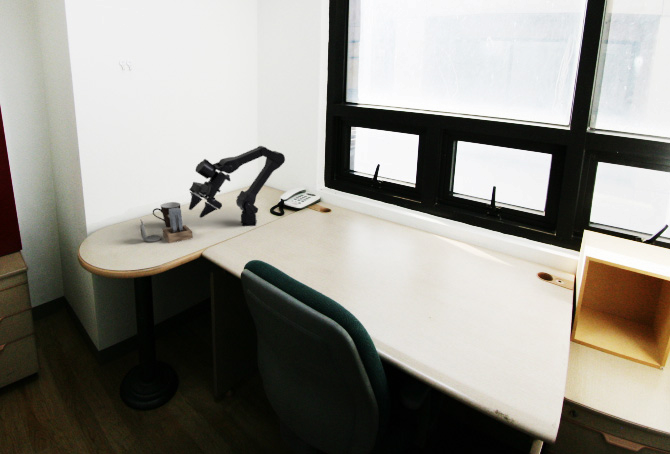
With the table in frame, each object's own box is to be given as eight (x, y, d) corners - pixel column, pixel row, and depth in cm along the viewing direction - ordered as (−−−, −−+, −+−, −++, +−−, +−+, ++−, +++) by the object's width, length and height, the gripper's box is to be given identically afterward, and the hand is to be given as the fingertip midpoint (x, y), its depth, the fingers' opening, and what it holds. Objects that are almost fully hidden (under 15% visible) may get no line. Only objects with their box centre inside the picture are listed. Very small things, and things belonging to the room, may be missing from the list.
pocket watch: (164, 238, 194) (161, 216, 191) (149, 245, 187) (146, 222, 184) (150, 235, 198) (147, 213, 194) (135, 241, 190) (132, 219, 187)
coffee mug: (185, 222, 214) (183, 202, 210) (177, 228, 206) (175, 208, 202) (162, 221, 215) (159, 201, 211) (153, 227, 207) (150, 206, 203)
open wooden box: (185, 232, 202) (185, 224, 201) (192, 238, 195) (191, 231, 194) (163, 236, 197) (162, 229, 195) (169, 243, 190) (168, 235, 189)
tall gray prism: (180, 233, 198) (178, 207, 194) (183, 235, 195) (180, 209, 191) (171, 234, 196) (168, 208, 192) (174, 237, 193) (171, 211, 189)
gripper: (190, 168, 198) (170, 198, 196) (213, 182, 186) (192, 213, 185) (208, 180, 206) (189, 208, 205) (230, 194, 195) (210, 224, 194)
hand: (194, 213), depth 197 cm, fingers open, 9 cm apart
